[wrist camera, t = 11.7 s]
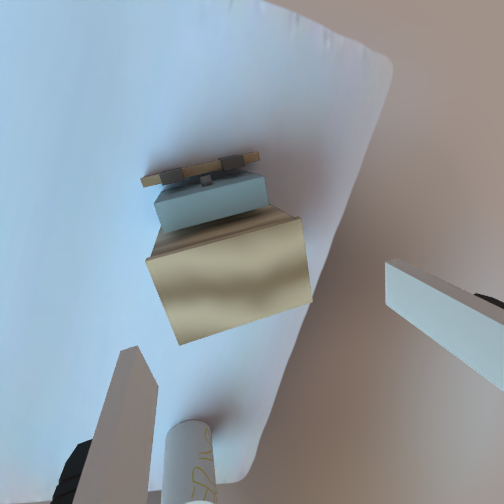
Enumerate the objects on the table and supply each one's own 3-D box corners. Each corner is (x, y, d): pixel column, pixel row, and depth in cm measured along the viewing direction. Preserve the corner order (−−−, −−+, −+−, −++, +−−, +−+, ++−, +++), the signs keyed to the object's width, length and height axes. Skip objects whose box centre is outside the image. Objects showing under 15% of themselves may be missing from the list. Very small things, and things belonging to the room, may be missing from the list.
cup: (216, 440, 50) (225, 520, 39) (175, 458, 49) (172, 545, 38) (202, 413, 47) (207, 492, 36) (158, 432, 46) (149, 518, 35)
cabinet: (141, 176, 32) (115, 189, 20) (254, 150, 34) (291, 148, 22) (181, 286, 38) (179, 345, 26) (274, 258, 40) (312, 301, 28)
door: (158, 183, 32) (149, 193, 24) (243, 163, 34) (262, 166, 26) (169, 214, 34) (164, 233, 26) (249, 193, 35) (269, 205, 27)
